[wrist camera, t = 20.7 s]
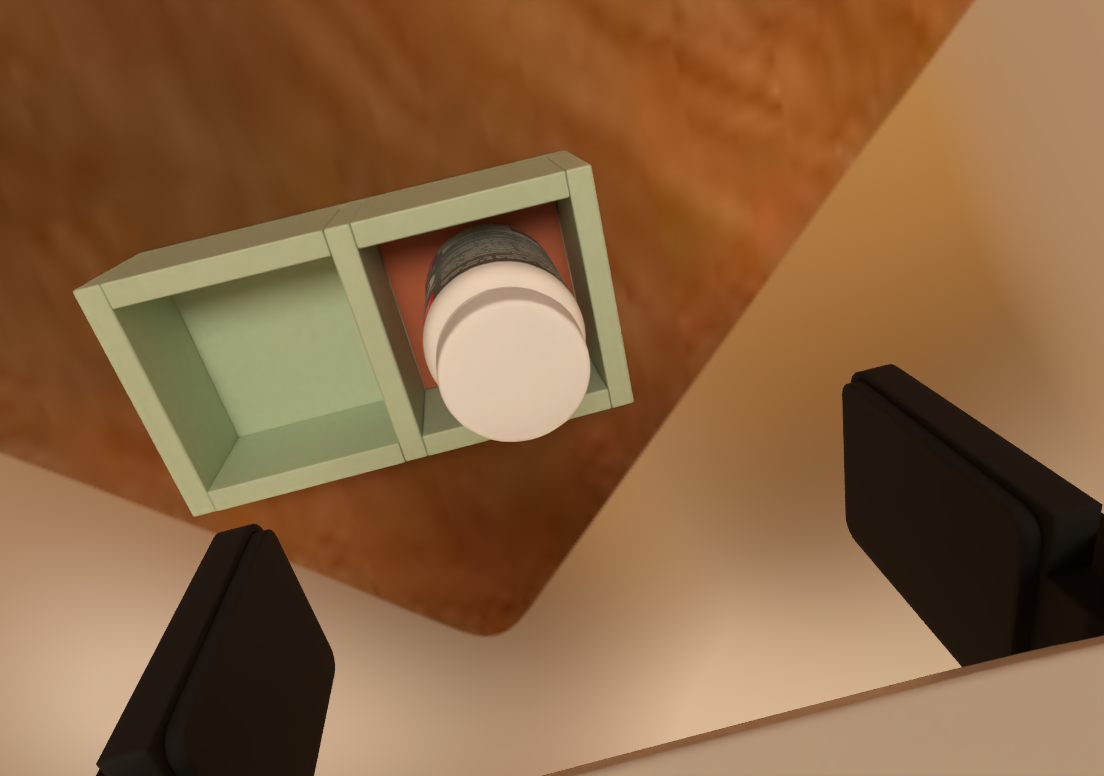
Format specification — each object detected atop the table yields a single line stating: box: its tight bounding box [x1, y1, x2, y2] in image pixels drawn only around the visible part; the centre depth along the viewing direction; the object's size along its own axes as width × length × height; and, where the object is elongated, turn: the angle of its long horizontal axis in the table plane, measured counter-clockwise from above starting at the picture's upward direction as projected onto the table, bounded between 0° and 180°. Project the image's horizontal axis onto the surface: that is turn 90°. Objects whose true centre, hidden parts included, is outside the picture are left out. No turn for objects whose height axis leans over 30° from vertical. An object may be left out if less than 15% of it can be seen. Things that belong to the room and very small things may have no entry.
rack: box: [73, 150, 634, 517], centre depth 24 cm, size 15×8×5 cm, turn 102°
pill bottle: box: [423, 224, 590, 442], centre depth 21 cm, size 5×5×8 cm
